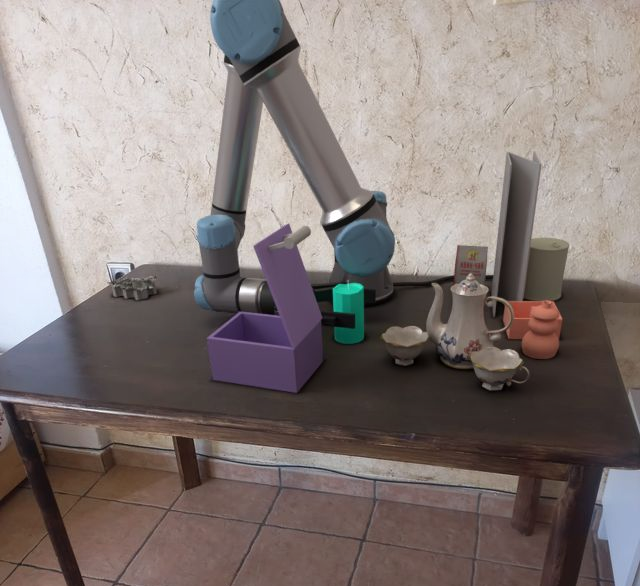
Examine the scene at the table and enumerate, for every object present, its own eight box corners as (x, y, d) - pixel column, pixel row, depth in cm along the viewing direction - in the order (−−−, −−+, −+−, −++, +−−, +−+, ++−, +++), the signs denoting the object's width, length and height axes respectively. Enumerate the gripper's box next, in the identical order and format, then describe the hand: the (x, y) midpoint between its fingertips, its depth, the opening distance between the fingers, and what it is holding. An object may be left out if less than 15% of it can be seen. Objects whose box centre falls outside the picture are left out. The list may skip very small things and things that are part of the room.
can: (539, 305, 134) (548, 250, 127) (509, 292, 141) (516, 240, 134) (570, 296, 137) (579, 242, 131) (539, 284, 144) (546, 232, 138)
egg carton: (161, 292, 152) (158, 275, 150) (140, 302, 147) (137, 285, 144) (129, 286, 157) (126, 270, 154) (107, 296, 151) (104, 280, 149)
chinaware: (367, 374, 114) (362, 291, 104) (406, 332, 125) (404, 254, 115) (518, 410, 101) (529, 320, 91) (547, 360, 112) (559, 274, 102)
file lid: (252, 245, 94) (282, 236, 92) (286, 224, 104) (313, 215, 102) (291, 347, 102) (320, 342, 99) (319, 318, 111) (346, 313, 109)
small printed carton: (455, 284, 147) (458, 242, 141) (484, 286, 145) (488, 244, 139) (453, 290, 144) (456, 247, 138) (482, 292, 142) (487, 249, 136)
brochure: (520, 318, 129) (541, 164, 112) (493, 317, 130) (510, 164, 113) (516, 293, 140) (535, 151, 124) (491, 292, 141) (506, 151, 125)
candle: (368, 333, 125) (368, 276, 119) (357, 345, 121) (356, 287, 114) (341, 329, 128) (339, 273, 121) (329, 341, 123) (327, 283, 117)
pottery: (503, 320, 128) (508, 274, 123) (550, 320, 127) (558, 274, 121) (514, 359, 113) (521, 309, 108) (568, 360, 112) (578, 309, 106)
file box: (213, 380, 112) (206, 338, 107) (244, 350, 121) (239, 311, 117) (297, 393, 106) (293, 349, 102) (323, 361, 116) (321, 320, 111)
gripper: (291, 294, 138) (383, 303, 131) (240, 339, 119) (344, 352, 112) (288, 261, 134) (383, 269, 127) (235, 302, 115) (343, 314, 108)
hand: (365, 308), depth 120 cm, fingers open, 12 cm apart
